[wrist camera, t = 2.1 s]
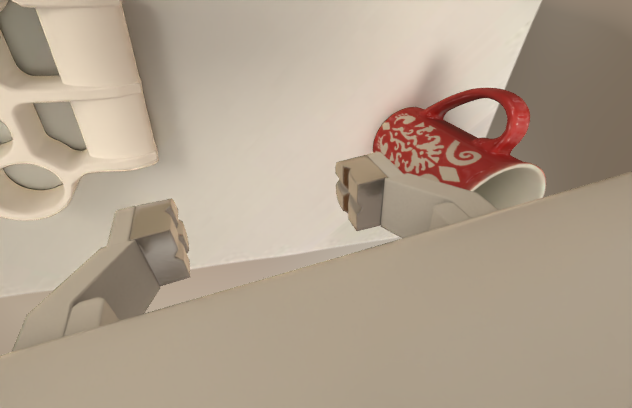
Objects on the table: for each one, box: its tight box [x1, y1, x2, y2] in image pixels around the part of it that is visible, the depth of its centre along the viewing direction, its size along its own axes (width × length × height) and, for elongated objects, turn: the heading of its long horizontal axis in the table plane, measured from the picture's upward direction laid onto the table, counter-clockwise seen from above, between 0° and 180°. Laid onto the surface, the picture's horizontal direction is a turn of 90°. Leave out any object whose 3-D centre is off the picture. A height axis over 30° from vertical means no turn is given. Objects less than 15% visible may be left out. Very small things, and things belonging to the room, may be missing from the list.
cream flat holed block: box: [0, 0, 159, 221], centre depth 21 cm, size 3×18×15 cm
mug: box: [373, 88, 546, 210], centre depth 30 cm, size 13×9×14 cm
